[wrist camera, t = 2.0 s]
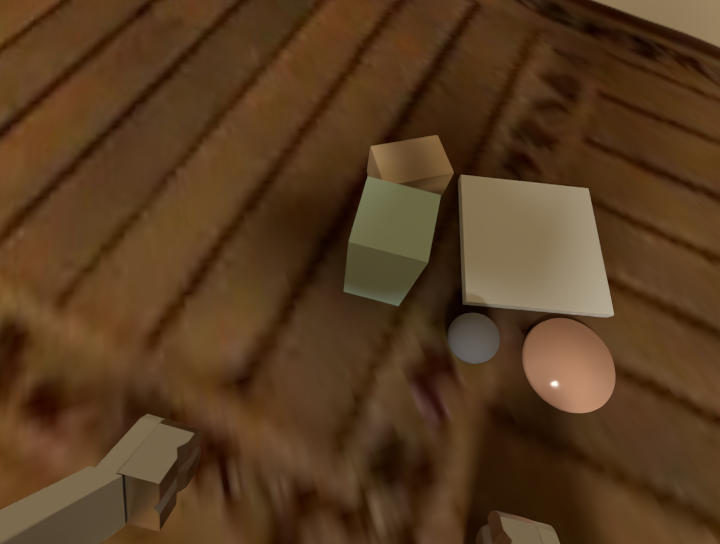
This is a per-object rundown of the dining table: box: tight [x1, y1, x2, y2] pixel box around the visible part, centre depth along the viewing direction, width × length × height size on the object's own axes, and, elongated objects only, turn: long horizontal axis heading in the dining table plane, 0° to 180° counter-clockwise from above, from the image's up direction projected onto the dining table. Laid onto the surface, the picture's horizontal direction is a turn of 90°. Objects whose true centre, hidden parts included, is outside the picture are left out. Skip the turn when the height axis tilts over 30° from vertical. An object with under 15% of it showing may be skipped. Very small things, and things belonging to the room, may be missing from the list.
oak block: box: [367, 135, 454, 196], centre depth 30 cm, size 6×4×4 cm, turn 105°
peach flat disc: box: [522, 318, 615, 413], centre depth 26 cm, size 7×7×1 cm
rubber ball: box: [447, 313, 500, 364], centre depth 25 cm, size 4×4×4 cm
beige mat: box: [458, 175, 614, 318], centre depth 30 cm, size 12×12×1 cm
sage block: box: [344, 176, 441, 306], centre depth 24 cm, size 4×4×9 cm
